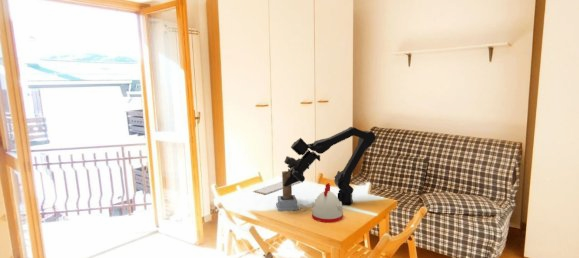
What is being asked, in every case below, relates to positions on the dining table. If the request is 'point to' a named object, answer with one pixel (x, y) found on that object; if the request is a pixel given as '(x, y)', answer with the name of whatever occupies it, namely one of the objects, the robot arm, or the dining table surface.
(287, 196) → the brown wooden block
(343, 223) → the dining table surface
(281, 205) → the end cap
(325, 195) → the kitchen timer
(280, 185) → the baseboard molding
